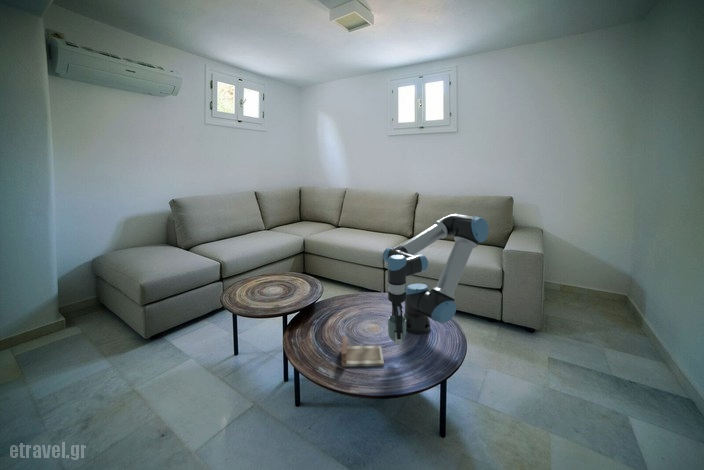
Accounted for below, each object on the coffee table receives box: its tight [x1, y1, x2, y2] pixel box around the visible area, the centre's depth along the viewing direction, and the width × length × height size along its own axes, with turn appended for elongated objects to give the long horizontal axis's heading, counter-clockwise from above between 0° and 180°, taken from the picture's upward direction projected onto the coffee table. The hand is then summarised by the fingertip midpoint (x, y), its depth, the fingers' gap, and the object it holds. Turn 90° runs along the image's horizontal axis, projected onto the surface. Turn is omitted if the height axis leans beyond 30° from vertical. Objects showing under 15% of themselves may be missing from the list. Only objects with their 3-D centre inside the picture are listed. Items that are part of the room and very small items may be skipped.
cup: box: [387, 314, 407, 342], centre depth 132 cm, size 8×8×10 cm
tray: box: [341, 336, 385, 367], centre depth 135 cm, size 18×13×6 cm
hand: (397, 338), depth 134 cm, fingers closed on cup, 8 cm apart
